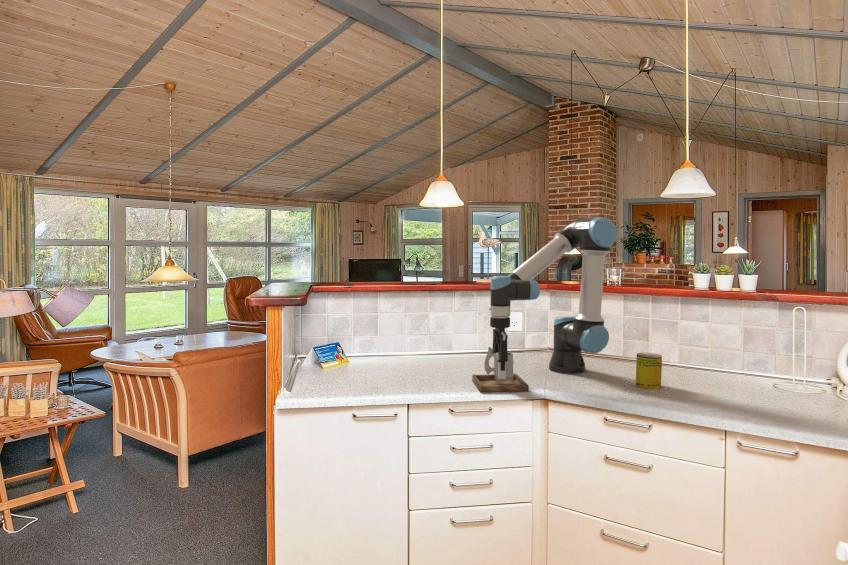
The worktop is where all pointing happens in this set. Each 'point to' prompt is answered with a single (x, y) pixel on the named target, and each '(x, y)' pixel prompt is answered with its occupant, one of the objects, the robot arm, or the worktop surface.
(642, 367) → the yellow tin can
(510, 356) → the mug
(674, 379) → the worktop surface
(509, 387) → the tray
